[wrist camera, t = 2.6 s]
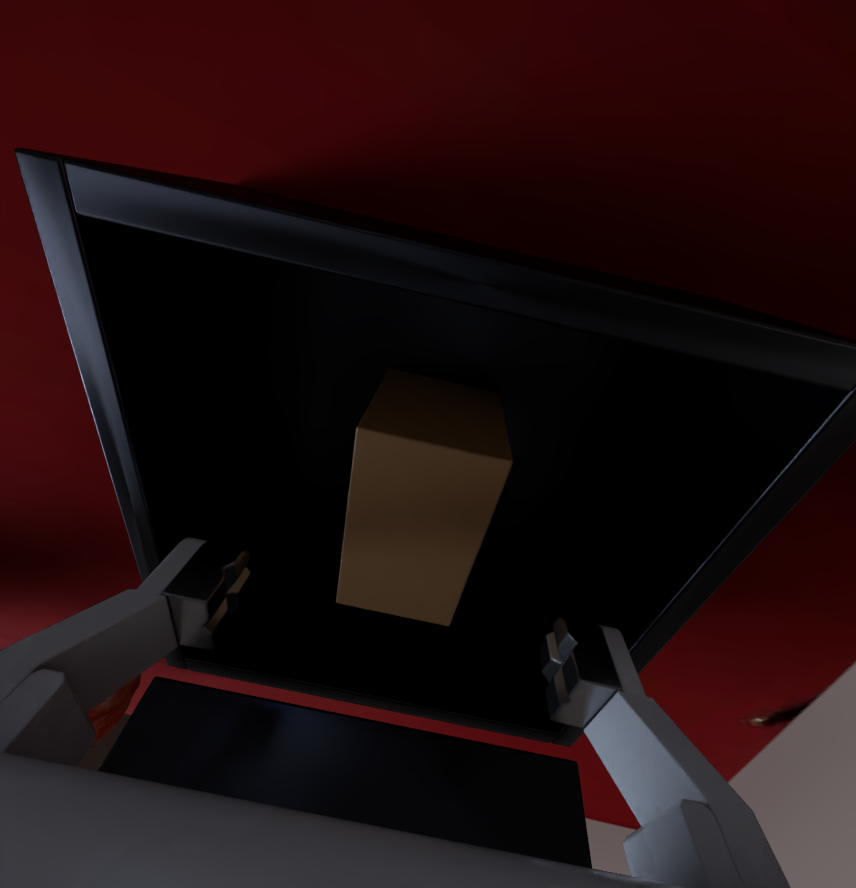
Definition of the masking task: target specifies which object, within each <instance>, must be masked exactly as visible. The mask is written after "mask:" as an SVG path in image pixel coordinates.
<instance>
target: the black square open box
mask: <svg viewBox="0 0 856 888" xmlns="http://www.w3.org/2000/svg"><path fill="white" fill-rule="evenodd" d="M14 153H15V156H16V160H17V163H18V166H19V170H20V173H21V176H22V180H23V183H24V186H25V190H26V193H27V196H28V200H29V203H30V207H31V210H32V213H33V217H34V220H35V223H36V227H37V230H38V233H39V237H40V240H41V244H42V247H43V250H44V254H45V257H46V260H47V264H48V267H49V270H50V274H51V277H52V280H53V284H54V287H55V291H56V294H57V297H58V301H59V304H60V307H61V311H62V314H63V317H64V321H65V324H66V327H67V331H68V334H69V338H70V341H71V344H72V348H73V351H74V354H75V358H76V361H77V364H78V368H79V371H80V374H81V378H82V381H83V385H84V388H85V391H86V395H87V398H88V401H89V405H90V408H91V411H92V415H93V418H94V422H95V425H96V428H97V432H98V435H99V438H100V442H101V445H102V448H103V452H104V455H105V458H106V462H107V465H108V469H109V472H110V475H111V479H112V482H113V485H114V489H115V492H116V495H117V499H118V502H119V505H120V509H121V512H122V516H123V519H124V522H125V526H126V529H127V532H128V536H129V539H130V542H131V546H132V549H133V552H134V556H135V559H136V563H137V566H138V569H139V573H140V576H141V579H142V583H143V582H144V581H145V579H146V578H147V577H148V576H149V575H150V574H151V573H152V572H153V571H154V570H155V569H156V568H157V567H158V565H159V564H160V563H161V562H162V561H163V560H164V559H165V558H166V557H167V556H168V555H169V554H170V552H171V551H172V550H173V549H174V548H175V547H176V546H177V545H178V544H179V543H180V542H181V541H182V540H184V539H186V538H187V537H191V538H196V539H200V540H205V541H209V542H213V543H218V544H222V545H226V546H230V547H234V548H238V549H242V550H246V551H249V555H250V561H249V563H248V564H247V566H246V567H247V568H248V569H249V571H250V572H251V582H250V587H249V590H248V592H247V595H246V598H245V600H244V601H243V603H242V605H241V607H240V608H239V609H238V610H237V611H235V612H233V613H232V614H230V615H228V617H229V627H228V628H227V630H226V631H225V633H224V635H223V636H222V638H221V640H220V641H219V643H218V645H217V646H216V648H215V650H214V651H212V650H206V649H201V648H195V647H189V646H184V645H178V644H177V645H178V647H177V648H175V649H174V650H173V651H171V652H170V653H169V654H167V655H166V656H164V657H165V660H166V663H167V665H168V666H173V667H178V668H182V669H189V670H192V671H197V672H202V673H207V674H211V675H216V676H221V677H226V678H231V679H236V680H241V681H246V682H251V683H256V684H261V685H266V686H270V687H275V688H280V689H285V690H290V691H295V692H300V693H305V694H310V695H315V696H320V697H325V698H329V699H334V700H339V701H344V702H349V703H354V704H359V705H364V706H369V707H374V708H379V709H384V710H389V711H393V712H398V713H403V714H408V715H413V716H418V717H423V718H428V719H433V720H438V721H443V722H448V723H452V724H457V725H462V726H467V727H472V728H477V729H482V730H487V731H492V732H497V733H502V734H507V735H511V736H516V737H521V738H526V739H531V740H536V741H541V742H546V743H553V744H557V745H562V746H567V747H571V746H572V745H573V744H574V742H575V741H576V740H577V739H578V738H579V737H580V736H581V735H582V734H583V733H584V731H583V730H584V728H580V727H576V726H572V725H568V724H563V723H559V722H555V721H551V720H550V716H549V711H548V705H547V699H546V694H545V690H546V688H547V686H548V685H549V682H548V680H547V679H546V677H545V676H544V675H543V673H542V670H541V664H540V651H541V645H542V641H543V640H544V638H545V636H546V634H549V633H551V632H553V631H554V630H553V625H552V624H553V623H554V621H555V620H556V618H558V617H565V618H570V619H575V620H580V621H585V622H590V623H595V624H597V625H602V626H607V627H612V628H616V629H618V630H619V631H620V632H621V634H622V636H623V639H624V641H625V644H626V646H627V649H628V651H629V654H630V657H631V659H632V662H633V664H634V667H635V669H636V672H637V674H639V673H640V672H641V671H642V669H643V668H644V667H645V666H646V665H647V664H648V663H649V662H650V661H651V660H652V659H653V658H654V657H655V656H656V654H657V653H658V652H659V651H660V650H661V649H662V648H663V647H664V646H665V645H666V644H667V643H668V642H669V640H670V639H671V638H672V637H673V636H674V635H675V634H676V633H677V632H678V631H679V630H680V629H681V628H682V627H683V625H684V624H685V623H686V622H687V621H688V620H689V619H690V618H691V617H692V616H693V615H694V614H695V613H696V612H697V610H698V609H699V608H700V607H701V606H702V605H703V604H704V603H705V602H706V601H707V600H708V599H709V598H710V596H711V595H712V594H713V593H714V592H715V591H716V590H717V589H718V588H719V587H720V586H721V585H722V584H723V583H724V581H725V580H726V579H727V578H728V577H729V576H730V575H731V574H732V573H733V572H734V571H735V570H736V569H737V567H738V566H739V565H740V564H741V563H742V562H743V561H744V560H745V559H746V558H747V557H748V556H749V555H750V554H751V552H752V551H753V550H754V549H755V548H756V547H757V546H758V545H759V544H760V543H761V542H762V541H763V540H764V539H765V537H766V536H767V535H768V534H769V533H770V532H771V531H772V530H773V529H774V528H775V527H776V526H777V525H778V523H779V522H780V521H781V520H782V519H783V518H784V517H785V516H786V515H787V514H788V513H789V512H790V511H791V510H792V508H793V507H794V506H795V505H796V504H797V503H798V502H799V501H800V500H801V499H802V498H803V497H804V496H805V494H806V493H807V492H808V491H809V490H810V489H811V488H812V487H813V486H814V485H815V484H816V483H817V482H818V481H819V479H820V478H821V477H822V476H823V475H824V474H825V473H826V472H827V471H828V470H829V469H830V468H831V467H832V465H833V464H834V463H835V462H836V461H837V460H838V459H839V458H840V457H841V456H842V455H843V454H844V453H845V452H846V450H847V449H848V448H849V447H850V446H851V445H852V444H853V443H854V442H855V441H856V340H854V339H851V338H848V337H844V336H841V335H838V334H834V333H831V332H827V331H824V330H821V329H817V328H814V327H811V326H807V325H804V324H800V323H797V322H794V321H790V320H787V319H784V318H780V317H777V316H774V315H770V314H767V313H763V312H760V311H757V310H753V309H750V308H747V307H743V306H740V305H736V304H733V303H730V302H727V301H723V300H720V299H716V298H712V297H708V296H703V295H699V294H695V293H691V292H686V291H682V290H678V289H674V288H669V287H665V286H661V285H657V284H653V283H648V282H644V281H640V280H636V279H631V278H627V277H623V276H619V275H614V274H610V273H606V272H602V271H597V270H593V269H589V268H585V267H580V266H576V265H572V264H568V263H564V262H559V261H555V260H551V259H547V258H542V257H538V256H534V255H530V254H525V253H521V252H517V251H513V250H508V249H504V248H500V247H496V246H491V245H487V244H483V243H479V242H474V241H470V240H466V239H462V238H458V237H453V236H449V235H445V234H441V233H436V232H432V231H428V230H424V229H419V228H415V227H411V226H407V225H402V224H398V223H394V222H390V221H385V220H381V219H377V218H373V217H369V216H364V215H360V214H356V213H352V212H347V211H343V210H339V209H335V208H330V207H326V206H322V205H318V204H313V203H309V202H305V201H301V200H296V199H292V198H288V197H284V196H280V195H275V194H271V193H267V192H263V191H258V190H254V189H250V188H246V187H241V186H237V185H233V184H229V183H223V182H217V181H211V180H205V179H200V178H194V177H188V176H182V175H176V174H171V173H165V172H159V171H153V170H147V169H141V168H136V167H130V166H124V165H118V164H112V163H107V162H101V161H95V160H89V159H83V158H78V157H72V156H66V155H60V154H54V153H49V152H43V151H37V150H31V149H25V148H16V149H15V150H14ZM389 368H392V369H396V370H401V371H405V372H409V373H414V374H418V375H423V376H427V377H431V378H436V379H440V380H445V381H449V382H454V383H458V384H462V385H467V386H471V387H476V388H480V389H485V390H489V391H493V392H498V393H500V398H501V403H502V408H503V414H504V419H505V424H506V429H507V434H508V440H509V445H510V450H511V455H512V460H513V464H512V466H511V469H510V472H509V474H508V477H507V479H506V482H505V485H504V487H503V490H502V492H501V495H500V497H499V500H498V503H497V505H496V508H495V510H494V513H493V515H492V518H491V521H490V523H489V526H488V528H487V531H486V534H485V536H484V539H483V541H482V544H481V546H480V549H479V552H478V554H477V557H476V559H475V562H474V564H473V567H472V570H471V572H470V575H469V577H468V580H467V583H466V585H465V588H464V590H463V593H462V595H461V598H460V601H459V603H458V606H457V608H456V611H455V613H454V616H453V619H452V621H451V624H450V626H444V625H440V624H435V623H430V622H425V621H421V620H416V619H411V618H406V617H401V616H397V615H392V614H387V613H382V612H378V611H373V610H368V609H363V608H359V607H354V606H349V605H344V604H339V603H337V602H336V597H337V589H338V580H339V571H340V563H341V554H342V546H343V537H344V528H345V520H346V511H347V503H348V494H349V485H350V477H351V468H352V460H353V451H354V443H355V434H356V428H357V426H358V424H359V422H360V420H361V419H362V417H363V415H364V413H365V411H366V409H367V408H368V406H369V404H370V402H371V400H372V398H373V397H374V395H375V393H376V391H377V389H378V387H379V386H380V384H381V382H382V380H383V378H384V376H385V375H386V373H387V371H388V369H389Z"/></svg>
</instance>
